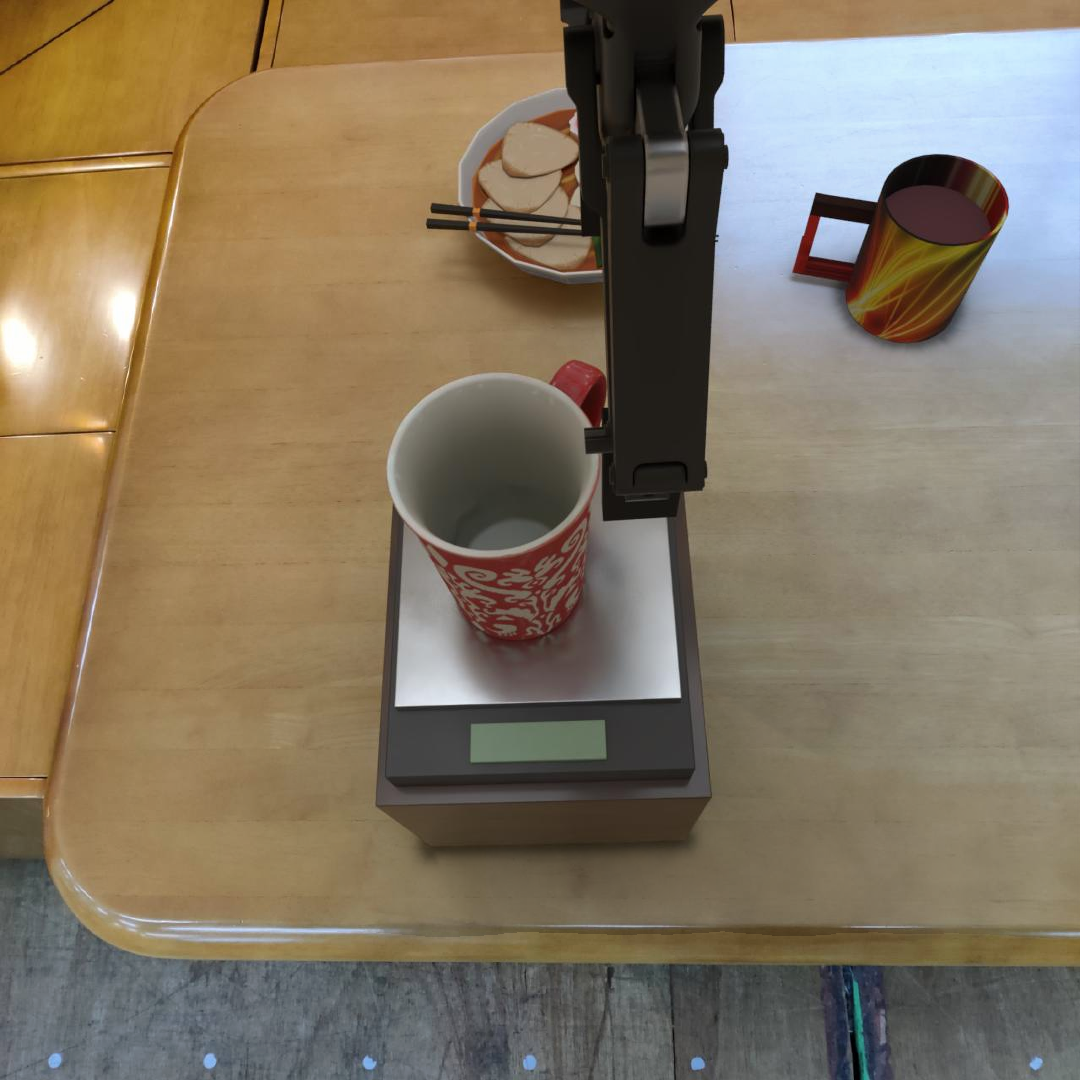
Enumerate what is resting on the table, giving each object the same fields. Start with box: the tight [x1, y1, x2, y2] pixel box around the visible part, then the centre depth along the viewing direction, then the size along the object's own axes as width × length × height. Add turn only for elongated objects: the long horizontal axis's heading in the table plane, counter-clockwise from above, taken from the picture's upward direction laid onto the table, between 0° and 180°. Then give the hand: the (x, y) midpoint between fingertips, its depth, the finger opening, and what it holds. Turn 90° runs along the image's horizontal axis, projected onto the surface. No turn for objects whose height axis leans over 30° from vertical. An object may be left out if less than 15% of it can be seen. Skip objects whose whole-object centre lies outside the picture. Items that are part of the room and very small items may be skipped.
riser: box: [374, 492, 713, 847], centre depth 62 cm, size 22×18×18 cm
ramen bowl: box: [425, 86, 720, 285], centre depth 85 cm, size 25×23×8 cm
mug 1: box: [385, 359, 607, 640], centre depth 46 cm, size 13×9×14 cm
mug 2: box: [792, 153, 1010, 344], centre depth 78 cm, size 10×14×12 cm
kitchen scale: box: [385, 453, 696, 787], centre depth 53 cm, size 20×16×3 cm
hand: (624, 358), depth 37 cm, fingers open, 13 cm apart
